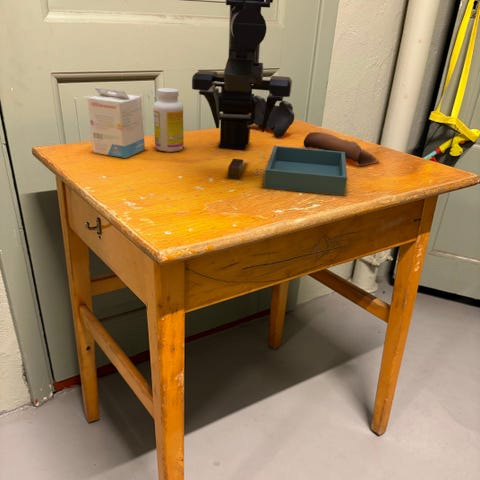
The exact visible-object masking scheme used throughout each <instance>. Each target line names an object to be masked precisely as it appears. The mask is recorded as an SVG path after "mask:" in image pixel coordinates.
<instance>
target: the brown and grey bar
mask: <svg viewBox="0 0 480 480" xmlns="http://www.w3.org/2000/svg"><path fill="white" fill-rule="evenodd" d="M245 166H246V161H245V160H244V159H243V158H242V159H241V158H232V160H231V162H230V164H229V165H228V166H227V167H228V168H227V169H228V170H227V179H231V180H232V179H233V180H239V179H240V177H241V175H242V173H243V171H244V168H245Z"/></svg>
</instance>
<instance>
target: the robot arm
mask: <svg viewBox="0 0 480 480" xmlns="http://www.w3.org/2000/svg"><path fill="white" fill-rule="evenodd" d="M273 3H274V0H225V6H229V25H228V27H229V28H228V58H227V61H226V64H225V68H224V71H223V76H221V75H218V71H214V70H201V69H200V70H197V72H195V73H194V74H193V75H192V77H191V78H192V79H191V90H193V91H194V90H195V91H198V95H200V96H203V97H204V98H205V100H206V101H207V103H208V106H209V108H210V112H211V115H212V117H213V122H214V126H215V128H216V129H219V128H220V130H219V131H220V133H219V134H220V135H219V142H218V148H226V149H236V150H246V148H247V146H249V145H250V140H251V139H250V138H251V125H248V121H250V122H253V120H255V112H256V105H257V100H256V99H255V93H253V90H254V91H255V90H256V91H268V95H267V97H266V107H265V113H264V118H263V123H262V129H261V133H265V130H266V129H267V128H266V125H267V122H268V120H269V117H270V114H271V112H272V110H273V108H274V106H275V105H276V104H277V103H278V102H281V101H284V98H289V97H291V94H292V87H293V80H292V79H291V77H290V76H281V75H272V76H271V77H270V79H263V78H264V63H263V62H260V51H261V50H260V49H261V43H262V42H263V41H264V39H265V37H266V35H267V34H266V33H267V23H266V19H265V17H264V16H263V14H262V8H266V9H267V8H269V9H270V8H271V4H273ZM218 87H219V88H220V89H219V88H218ZM248 113H249V115H248Z"/></svg>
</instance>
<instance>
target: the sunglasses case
mask: <svg viewBox="0 0 480 480" xmlns="http://www.w3.org/2000/svg"><path fill="white" fill-rule="evenodd" d="M303 146H304V148H306V149H308V148H312V149H317V150H328V151H339V152H345V159H346V160H349V161H352V162H354V163H357V164H358V166H359V167H367V166H370V165H375V164H377V163H379V159H378V158H377V157H376V156H375V155H373V154H371V153H370V152H369V151H366V150H364V149H363V148H362V147H361V146H360V145H359V144H358V143H357V142H356V141H354V140H353V141H351V140H349V139H343V138H341V137H339V136H336V135H333V134H330V133H326V132H321V131H320V132H319V131H318V132H316V131H314V132H309V133H308V134H307V135H306V136H305V137H304V139H303Z"/></svg>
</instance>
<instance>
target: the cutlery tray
mask: <svg viewBox="0 0 480 480" xmlns="http://www.w3.org/2000/svg"><path fill="white" fill-rule="evenodd" d="M263 180H264V181H263V188H264V189H268V190H269V189H270V190H279V191H280V190H281V191H291V192H299V193H300V192H302V193H312V194H322V195H332V196H342V197H344V196H345V191H346V186H347V180H348V174H347V162H346V158H345V152H339V151H328V150H323V149H317V148H306V147H294V146H284V145H280V146H279V145H274V146H273V148H272V150H271V153H270V156H269V159H268V161H267V164H266V167H265V170H264V179H263Z"/></svg>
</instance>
